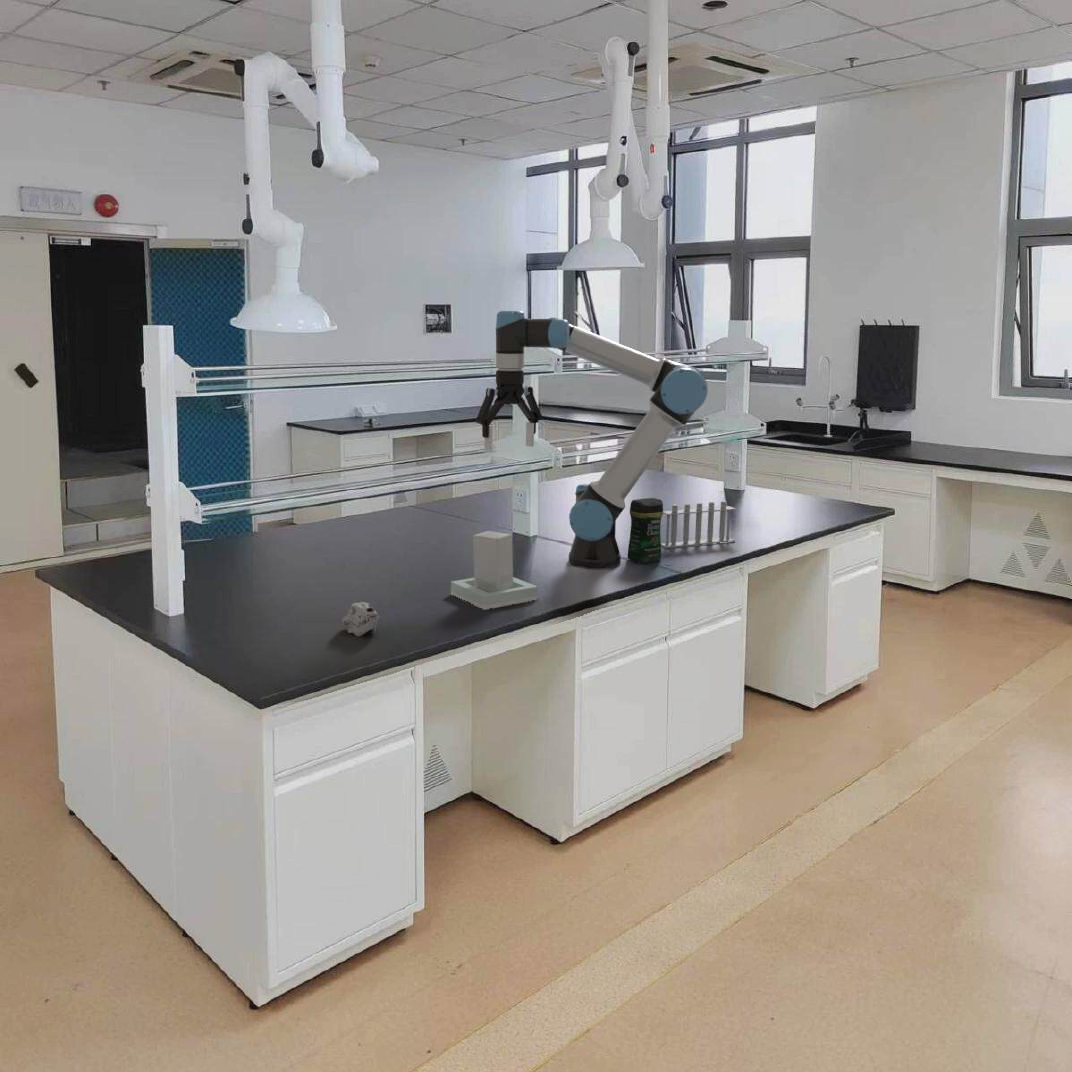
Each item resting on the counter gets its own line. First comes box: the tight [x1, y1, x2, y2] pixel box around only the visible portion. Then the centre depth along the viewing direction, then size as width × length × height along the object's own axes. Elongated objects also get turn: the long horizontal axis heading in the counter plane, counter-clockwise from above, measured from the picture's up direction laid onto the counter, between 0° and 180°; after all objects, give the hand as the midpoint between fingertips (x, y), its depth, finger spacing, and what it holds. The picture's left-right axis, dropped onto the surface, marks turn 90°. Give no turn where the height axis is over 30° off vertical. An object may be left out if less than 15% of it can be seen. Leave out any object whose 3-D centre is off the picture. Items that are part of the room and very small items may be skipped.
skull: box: [341, 601, 380, 637], centre depth 234 cm, size 8×9×12 cm
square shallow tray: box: [450, 576, 539, 610], centre depth 264 cm, size 16×16×4 cm
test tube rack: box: [661, 500, 738, 549], centre depth 323 cm, size 25×4×13 cm, turn 113°
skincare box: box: [472, 530, 514, 593], centre depth 262 cm, size 8×7×16 cm
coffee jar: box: [627, 497, 664, 564], centre depth 301 cm, size 10×8×19 cm
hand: (509, 448), depth 282 cm, fingers open, 13 cm apart
